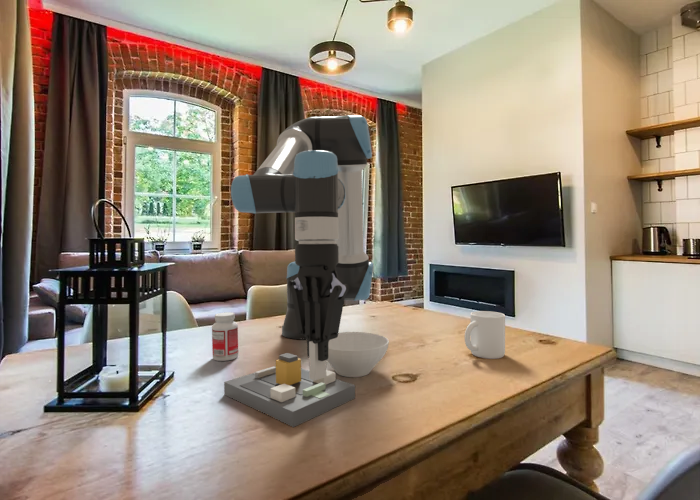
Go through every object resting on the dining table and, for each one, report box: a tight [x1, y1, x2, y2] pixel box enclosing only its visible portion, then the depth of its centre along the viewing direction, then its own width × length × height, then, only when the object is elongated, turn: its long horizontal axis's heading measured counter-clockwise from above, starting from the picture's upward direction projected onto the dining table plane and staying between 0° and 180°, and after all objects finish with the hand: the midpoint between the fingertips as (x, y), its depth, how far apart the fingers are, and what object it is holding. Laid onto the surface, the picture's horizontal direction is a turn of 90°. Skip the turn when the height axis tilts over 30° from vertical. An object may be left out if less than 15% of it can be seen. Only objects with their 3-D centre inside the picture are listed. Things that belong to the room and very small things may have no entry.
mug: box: [464, 310, 506, 360], centre depth 100 cm, size 12×8×10 cm
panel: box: [223, 365, 356, 428], centre depth 75 cm, size 20×15×4 cm
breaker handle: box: [275, 352, 302, 385], centre depth 75 cm, size 3×4×5 cm
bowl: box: [326, 331, 390, 378], centre depth 89 cm, size 16×16×7 cm
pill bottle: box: [211, 311, 239, 362], centre depth 100 cm, size 6×6×11 cm
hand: (318, 377), depth 70 cm, fingers closed
